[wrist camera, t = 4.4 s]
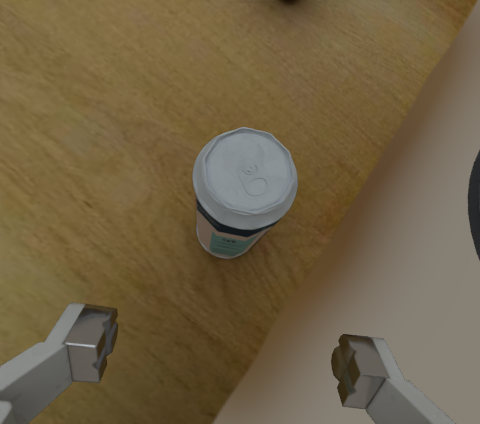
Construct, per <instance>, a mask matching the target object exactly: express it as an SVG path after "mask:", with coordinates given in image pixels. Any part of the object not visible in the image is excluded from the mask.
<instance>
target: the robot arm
mask: <svg viewBox="0 0 480 424" xmlns="http://www.w3.org/2000/svg"><path fill="white" fill-rule="evenodd" d="M117 316H118V313H117V309H116V308H111V307H104V306H97V305H90V304H82V303H74V302H71V303H70V304H69V305H68V306H67V307H66V309H65V310H64V312H63V314H62V315H61V317H60V318H59V320H58V321H57V323H56V324H55V326H54V327H53V329H52V331H51V332H50V334H49V335H48V337H47V338H46V340H45V341H44V342H38V343H37V344H35V345H33V346H32V347H30V348H29V349H27V350H25V351H24V352H22V353H21V354H19V355H17V356H16V357H14V358H13V359H11V360H9V361H8V362H6V363H5V364H3V365H1V366H0V424H28V423H29V422H30V421H31V420H32V419H33V418H35V417H36V416H37V415H38V414H39V413H40V412H41V411H42V410H43V409H44V408H46V407H47V406H48V405H49V404H50V403H51V402H52V401H53V400H54V399H55V398H57V397H58V396H59V395H60V394H61V393H62V392H63V391H64V390H65V389H66V388H68V387H69V386H70V385H71V384H72V381H74V382H89V383H100V381H101V378H102V376H103V373H104V371H105V368H106V366H107V356H108V355H109V354H111V353H112V351H113V348H114V346H115V343H116V339H117V334H118V324H117V323H116V322H115V321H116V318H117ZM339 344H340V346H338V347H336V348H335V349H334V351H333V354H332V360H331V364H332V370H333V374H334V376H335V377H336V378H337V379H338V381H339V385H338V387H337V389H338V392H339V395H340V399H341V402H342V406H343V407H352V408H359V409H366V412H367V413H368V414H369V415H370V417H371V418H372V420H373V421H374V422H375V423H376V424H456V423H455V422H454V421H453V420H452V419H450V418H449V417H448V416H447V415H446V414H445V413H444V412H443V411H442V410H441V409H440V408H438V407H437V406H436V405H435V404H434V403H433V402H432V401H431V400H430V399H429V398H427V397H426V396H425V395H424V394H423V393H422V392H421V391H420V390H419V389H418V388H417V387H415V386H414V385H413V384H412V383H411V382H410V381H408V380H405V379H404V377H403V375H402V373H401V371H400V369H399V367H398V365H397V363H396V361H395V359H394V357H393V355H392V353H391V351H390V349H389V347H388V344H387V343H386V341H385V340H384V339H383V338H374V337H367V336H357V335H347V334H343V335H341V336H340V338H339Z"/></svg>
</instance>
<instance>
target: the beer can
mask: <svg viewBox="0 0 480 424" xmlns="http://www.w3.org/2000/svg"><path fill="white" fill-rule="evenodd" d="M192 177H193V187H194V190H195V197H196V215H197V225H196V230H197V236H198V239H199V241H200V243H201V245H202V246H203V247H204V248H205V250H207V251H208V252H209V253H210V254H212V255H214V256H216V257H220V258H235V257H238V256H241V255H242V254H244V253H246V252H247V251H249V250H250V249H251V248H252V247H253V246H254V245H255V244H256V243H257V242H258V241H259V240H260V239H261V238H262V237H263V236H264V235H265V234H266V233H267V232H268V231H269V230H270V229H271V228H272V227H273V226H274V225H275V224H276V223H277V222H278V221H279V220H280V219H281V218H282V217H283V216H284V215H285V213H286V212H287V211H288V210H289V209H290V207H291V205H292V203H293V201H294V198H295V196H296V192H297V186H298V179H297V171H296V168H295V165H294V163H293V160H292V158H291V155H290V152H289V151H288V150H287V149H286V148H285V147H284V146H283V145H282V144H281V143H280V142H279V141H278V140H277V139H276V138H275V137H274V136H273V135H272V134H271V133H268V132H264V131H259V130H255V129H251V128H246V127H241V128H239V129H236V130H233V131H229V132H225V133H223V134H221V135H219V136H217V137H215V138H213V139H212V140H211V141H209V142H208V143H207V144H206V145H205V146H204V147H203V149H202V150H201V152H200V154H199V155H198V157H197V159H196V161H195V164H194V169H193V176H192Z"/></svg>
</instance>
